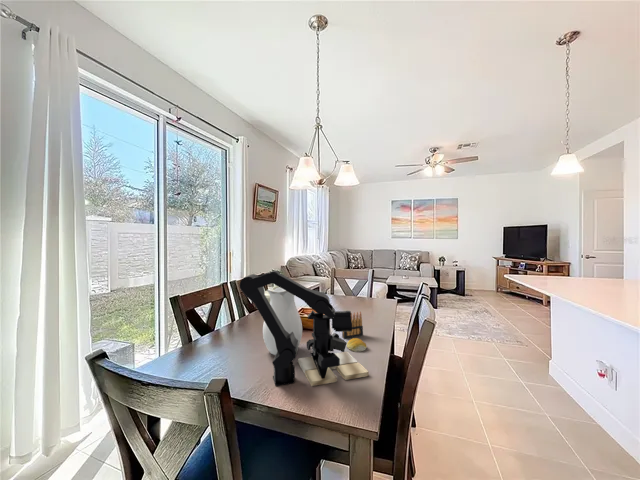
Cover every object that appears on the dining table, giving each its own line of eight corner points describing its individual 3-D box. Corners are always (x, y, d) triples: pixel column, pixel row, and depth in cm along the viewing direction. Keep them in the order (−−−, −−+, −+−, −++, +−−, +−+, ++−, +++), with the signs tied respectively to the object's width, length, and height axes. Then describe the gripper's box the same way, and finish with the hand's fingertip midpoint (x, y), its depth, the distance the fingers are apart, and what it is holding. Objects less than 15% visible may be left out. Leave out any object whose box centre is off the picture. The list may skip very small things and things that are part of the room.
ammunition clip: (361, 334, 143) (361, 310, 142) (363, 335, 141) (363, 311, 141) (342, 337, 139) (341, 313, 138) (343, 338, 137) (343, 314, 137)
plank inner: (311, 386, 94) (311, 381, 94) (305, 375, 101) (305, 370, 101) (336, 381, 97) (336, 377, 96) (329, 371, 104) (328, 367, 104)
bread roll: (361, 343, 131) (361, 335, 131) (368, 351, 122) (368, 342, 122) (344, 345, 129) (344, 336, 129) (350, 353, 121) (350, 343, 121)
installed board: (304, 374, 102) (304, 369, 102) (298, 362, 112) (298, 358, 112) (357, 365, 109) (357, 361, 109) (347, 355, 118) (347, 351, 118)
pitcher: (296, 361, 113) (295, 291, 113) (256, 357, 116) (255, 289, 116) (310, 339, 137) (309, 281, 136) (276, 337, 140) (276, 280, 139)
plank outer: (345, 380, 97) (345, 375, 97) (336, 370, 105) (336, 365, 105) (368, 375, 100) (368, 371, 100) (358, 366, 108) (358, 362, 108)
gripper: (354, 337, 91) (355, 386, 91) (334, 321, 108) (334, 362, 108) (321, 341, 87) (322, 392, 87) (305, 324, 105) (306, 366, 105)
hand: (322, 376), depth 97 cm, fingers closed on plank inner, 2 cm apart
